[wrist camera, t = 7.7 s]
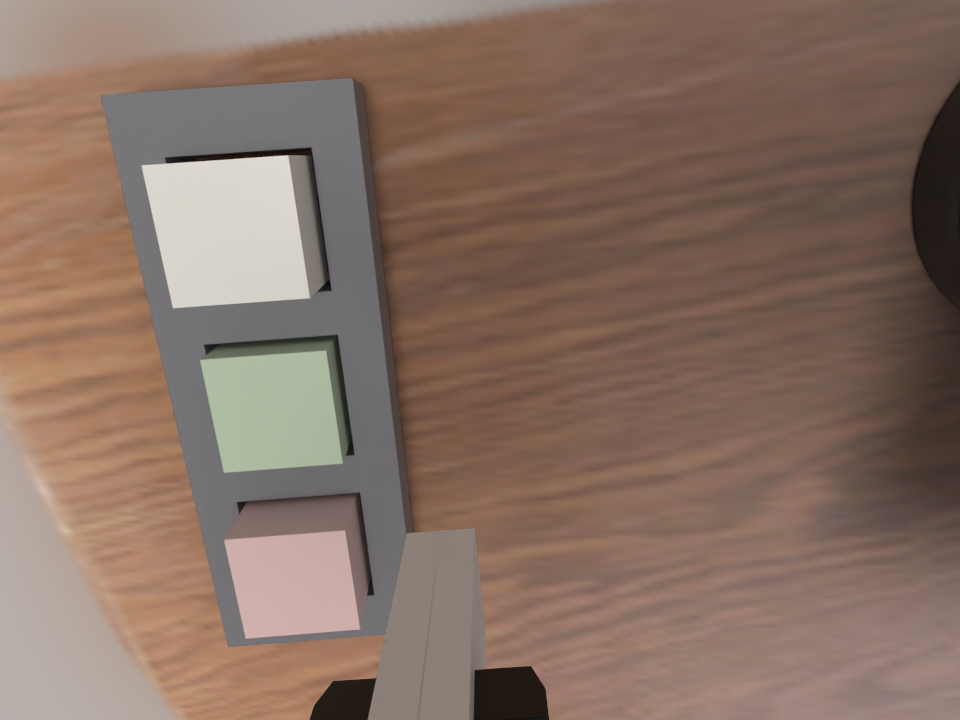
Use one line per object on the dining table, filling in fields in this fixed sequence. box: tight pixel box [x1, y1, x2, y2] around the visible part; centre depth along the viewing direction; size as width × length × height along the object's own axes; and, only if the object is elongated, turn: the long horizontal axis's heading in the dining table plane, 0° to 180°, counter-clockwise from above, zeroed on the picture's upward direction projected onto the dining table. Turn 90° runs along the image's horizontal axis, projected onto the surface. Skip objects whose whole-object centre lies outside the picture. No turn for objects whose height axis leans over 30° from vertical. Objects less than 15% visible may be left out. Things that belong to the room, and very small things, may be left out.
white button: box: [141, 155, 329, 308], centre depth 26 cm, size 5×5×4 cm
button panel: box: [100, 78, 414, 647], centre depth 31 cm, size 27×10×3 cm, turn 4°
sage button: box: [200, 335, 352, 473], centre depth 30 cm, size 5×5×4 cm
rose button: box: [224, 493, 371, 639], centre depth 31 cm, size 5×5×4 cm
